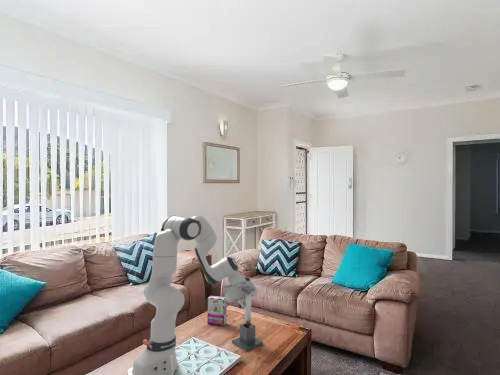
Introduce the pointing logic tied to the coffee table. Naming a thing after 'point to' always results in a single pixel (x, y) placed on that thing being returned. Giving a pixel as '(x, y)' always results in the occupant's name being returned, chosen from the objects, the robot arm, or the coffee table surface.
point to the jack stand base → (247, 338)
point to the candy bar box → (217, 310)
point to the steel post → (247, 305)
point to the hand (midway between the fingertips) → (247, 305)
